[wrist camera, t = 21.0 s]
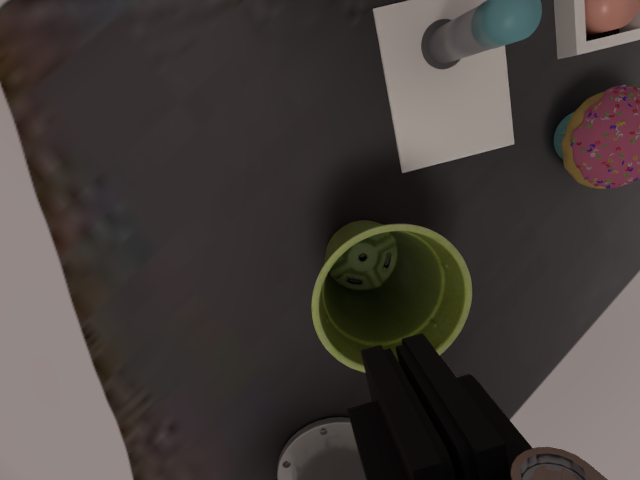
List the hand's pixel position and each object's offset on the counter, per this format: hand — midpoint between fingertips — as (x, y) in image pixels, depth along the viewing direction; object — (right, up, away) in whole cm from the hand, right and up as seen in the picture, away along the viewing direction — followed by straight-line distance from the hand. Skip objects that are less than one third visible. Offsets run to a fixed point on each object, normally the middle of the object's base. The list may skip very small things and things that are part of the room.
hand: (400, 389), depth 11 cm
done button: (+22, +24, +26) cm, 42 cm away
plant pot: (+2, +2, +30) cm, 30 cm away
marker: (+9, +21, +25) cm, 34 cm away
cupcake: (+23, +14, +30) cm, 40 cm away
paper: (+9, +18, +27) cm, 33 cm away
